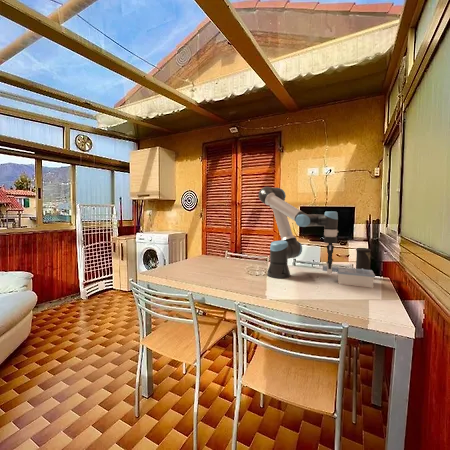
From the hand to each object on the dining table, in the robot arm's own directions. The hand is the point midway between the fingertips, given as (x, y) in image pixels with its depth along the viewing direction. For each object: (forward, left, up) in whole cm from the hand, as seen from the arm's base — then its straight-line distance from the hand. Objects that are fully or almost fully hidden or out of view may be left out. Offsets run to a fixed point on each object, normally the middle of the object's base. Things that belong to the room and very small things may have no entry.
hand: (329, 272), depth 155 cm
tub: (+14, 0, -6) cm, 15 cm away
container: (+20, +19, -6) cm, 28 cm away
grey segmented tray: (+10, 0, +1) cm, 10 cm away
